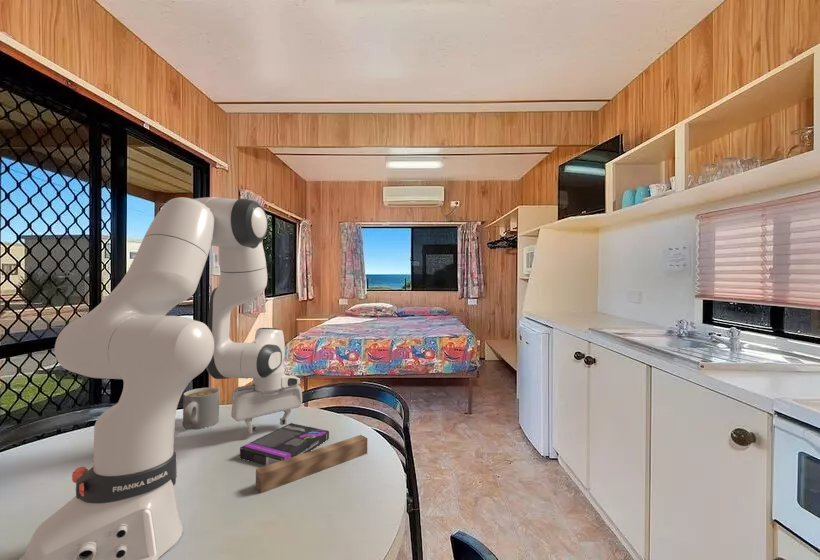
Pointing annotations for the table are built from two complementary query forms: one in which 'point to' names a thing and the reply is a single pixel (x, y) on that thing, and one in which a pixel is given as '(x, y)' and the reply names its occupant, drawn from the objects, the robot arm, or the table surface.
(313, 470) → the walnut board
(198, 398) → the coffee mug
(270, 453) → the box
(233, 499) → the table surface
